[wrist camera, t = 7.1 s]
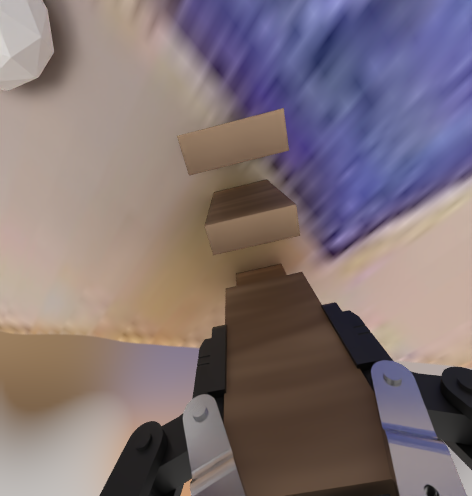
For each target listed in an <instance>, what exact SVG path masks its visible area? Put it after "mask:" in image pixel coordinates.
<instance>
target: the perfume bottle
mask: <svg viewBox="0 0 472 496" xmlns="http://www.w3.org/2000/svg"><path fill="white" fill-rule="evenodd" d="M53 53H54V47H53V41H52V35H51V28H50V22H49V16H48V9H47V8H46V6H45V4H44V2H43V1H42V0H0V90H7V91H9V90H12V89H14V88H16V87H18V86H20V85H23V84H25V83H27V82H29V81H32V80H34V79H36V78H38V77H39V76H40V74H41V73H42V71H43V69H44V68H45V66H46V65H47V63H48V61H49V60H50V58H51V57H52V55H53Z"/></svg>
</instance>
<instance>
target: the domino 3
mask: <svg viewBox="0 0 472 496" xmlns="http://www.w3.org/2000/svg"><path fill="white" fill-rule="evenodd" d="M285 275H286V273H285V271H284V269H283V266H282V264H279V265H274V266H269V267H265V268H260V269H256V270H251V271H247V272H242V273H238V274H236V281H237V286H240V285H244V284H249V283H253V282H258V281H263V280H267V279H272V278H276V277H281V276H285Z"/></svg>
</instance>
